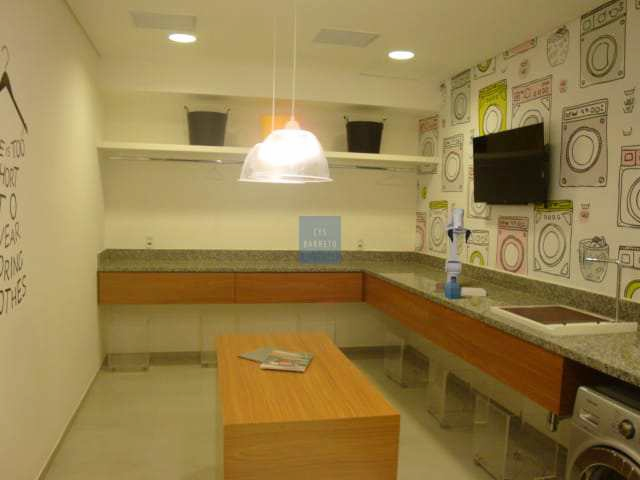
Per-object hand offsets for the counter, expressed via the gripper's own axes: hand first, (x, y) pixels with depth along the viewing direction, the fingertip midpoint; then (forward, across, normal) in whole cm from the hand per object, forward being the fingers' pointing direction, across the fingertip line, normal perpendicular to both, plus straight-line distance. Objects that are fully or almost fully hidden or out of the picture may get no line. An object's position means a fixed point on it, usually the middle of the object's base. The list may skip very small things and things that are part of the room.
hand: (459, 241), depth 293 cm
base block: (+14, +11, +29) cm, 34 cm away
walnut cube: (+14, -8, +29) cm, 33 cm away
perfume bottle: (+27, -3, +17) cm, 32 cm away
